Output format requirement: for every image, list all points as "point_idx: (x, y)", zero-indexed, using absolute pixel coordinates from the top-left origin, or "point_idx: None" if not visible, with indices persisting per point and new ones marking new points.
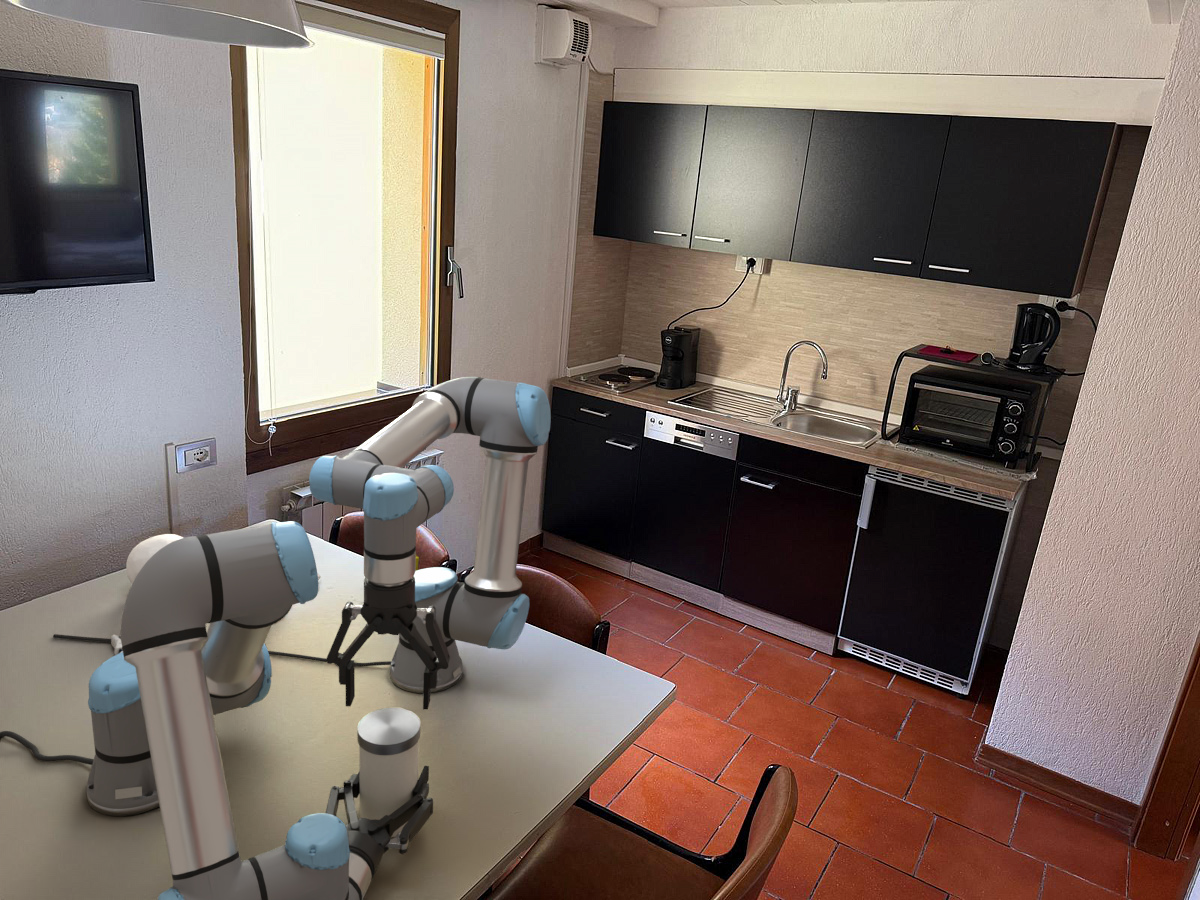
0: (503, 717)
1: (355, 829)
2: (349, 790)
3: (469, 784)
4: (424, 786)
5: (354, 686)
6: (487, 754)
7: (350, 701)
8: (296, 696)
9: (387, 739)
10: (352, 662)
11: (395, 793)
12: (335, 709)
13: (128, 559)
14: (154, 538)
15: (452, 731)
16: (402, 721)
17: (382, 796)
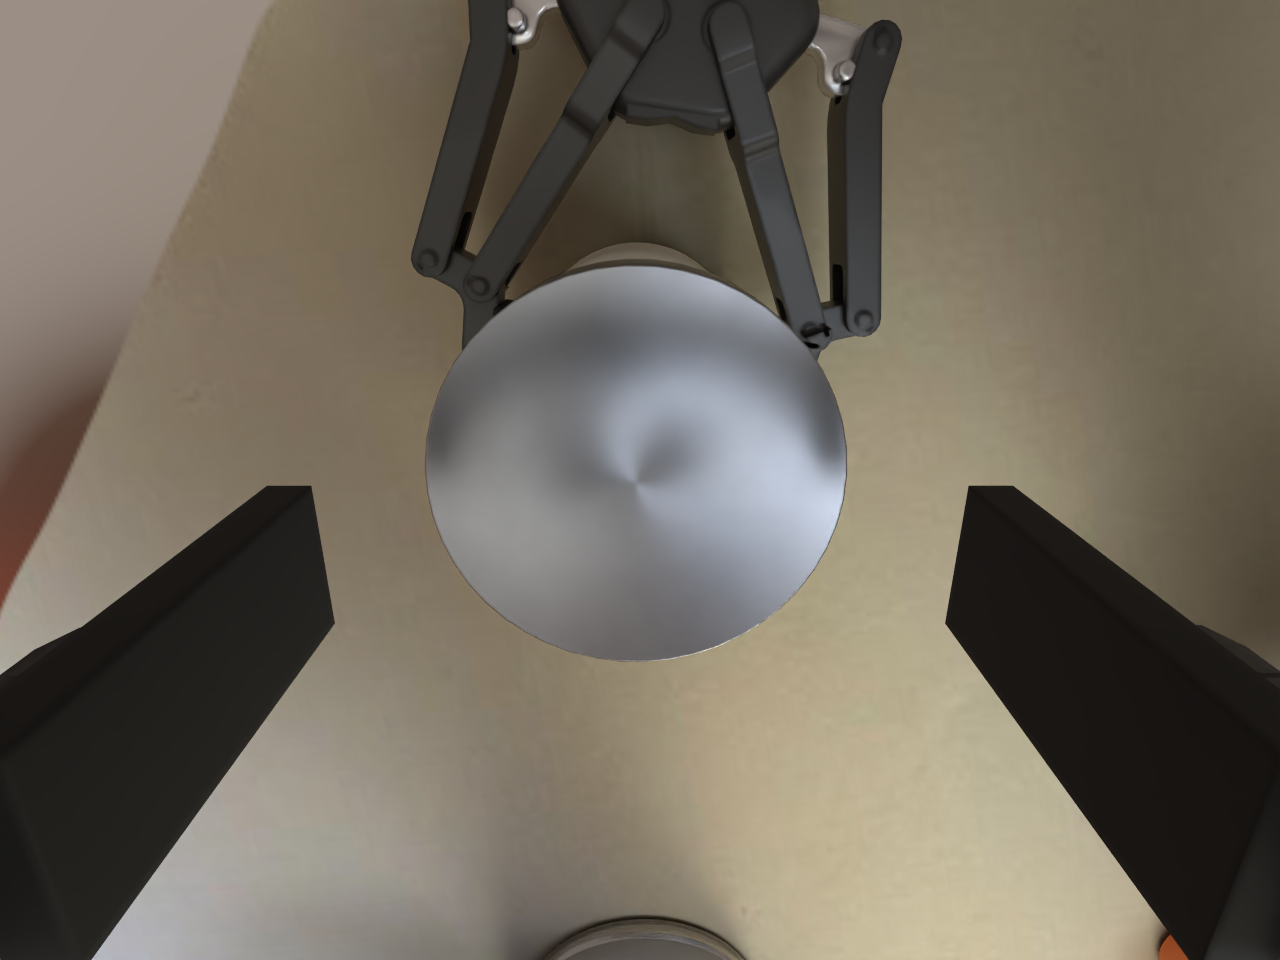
0: (353, 832)
1: (724, 3)
2: (797, 306)
3: (391, 524)
4: None
5: (990, 683)
6: (364, 667)
7: (992, 504)
8: (1036, 882)
9: (617, 331)
10: (1234, 924)
11: (581, 265)
12: (904, 835)
13: None
14: None
15: (506, 762)
16: (557, 531)
17: (640, 252)
